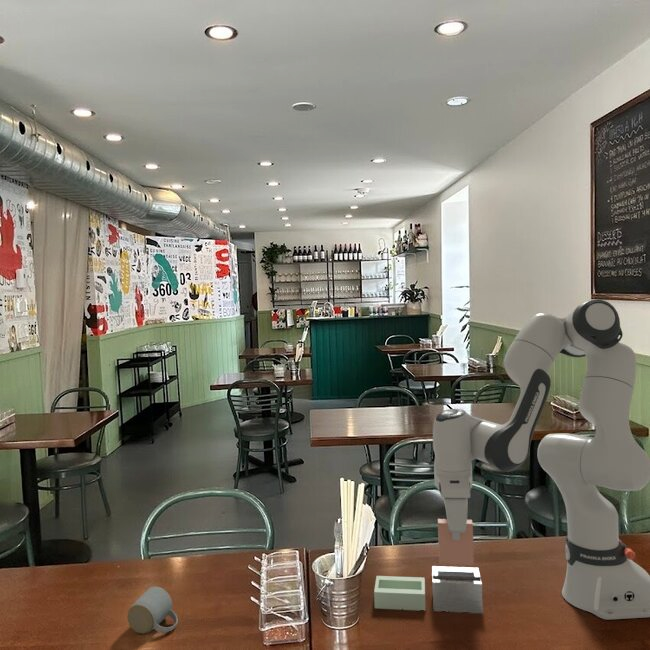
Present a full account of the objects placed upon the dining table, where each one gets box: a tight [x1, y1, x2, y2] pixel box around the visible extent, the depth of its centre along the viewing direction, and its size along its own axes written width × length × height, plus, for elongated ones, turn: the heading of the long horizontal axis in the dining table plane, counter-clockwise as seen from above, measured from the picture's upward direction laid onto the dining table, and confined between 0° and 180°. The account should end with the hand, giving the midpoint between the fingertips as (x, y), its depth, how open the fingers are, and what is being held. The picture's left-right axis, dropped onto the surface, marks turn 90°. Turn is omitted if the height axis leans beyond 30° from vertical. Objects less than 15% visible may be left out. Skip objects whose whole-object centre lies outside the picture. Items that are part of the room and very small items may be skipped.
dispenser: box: [431, 565, 484, 614], centre depth 137 cm, size 11×8×8 cm
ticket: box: [437, 518, 475, 566], centre depth 137 cm, size 8×2×10 cm, turn 81°
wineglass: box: [333, 517, 343, 540], centre depth 161 cm, size 6×6×12 cm
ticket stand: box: [373, 575, 427, 612], centre depth 140 cm, size 12×8×4 cm, turn 81°
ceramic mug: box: [126, 586, 179, 635], centre depth 133 cm, size 11×8×8 cm
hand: (455, 535), depth 137 cm, fingers closed on ticket, 2 cm apart
